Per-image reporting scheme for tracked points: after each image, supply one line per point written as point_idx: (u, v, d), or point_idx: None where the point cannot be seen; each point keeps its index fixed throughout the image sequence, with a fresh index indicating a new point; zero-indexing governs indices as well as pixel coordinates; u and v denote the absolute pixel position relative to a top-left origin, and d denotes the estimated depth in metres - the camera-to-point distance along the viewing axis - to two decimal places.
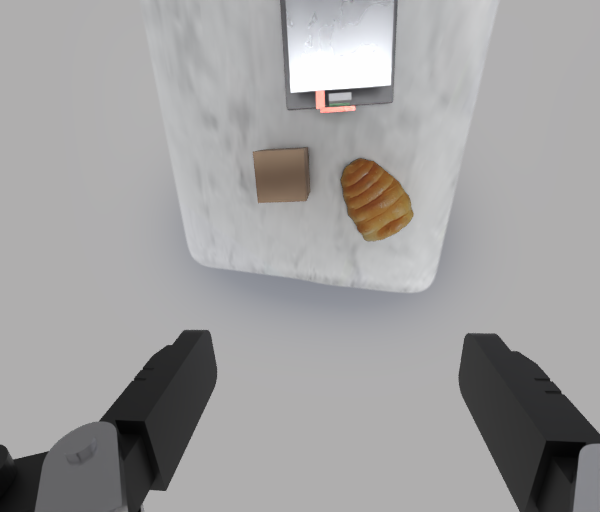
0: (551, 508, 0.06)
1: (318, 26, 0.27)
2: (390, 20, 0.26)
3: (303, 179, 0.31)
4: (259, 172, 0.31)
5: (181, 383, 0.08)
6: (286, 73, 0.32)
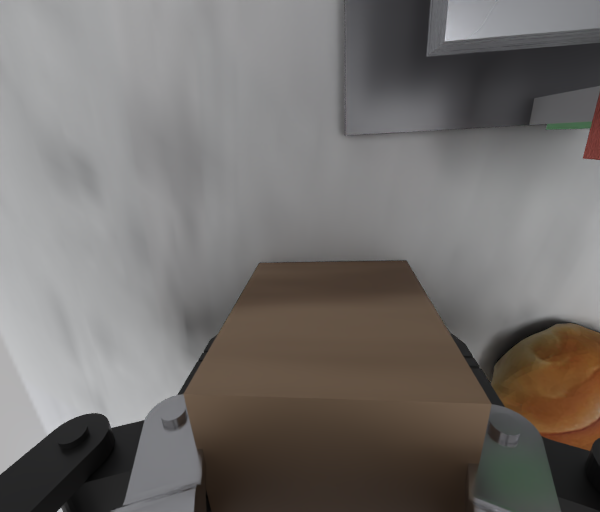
0: None
1: None
2: None
3: None
4: (225, 474, 0.06)
5: None
6: None
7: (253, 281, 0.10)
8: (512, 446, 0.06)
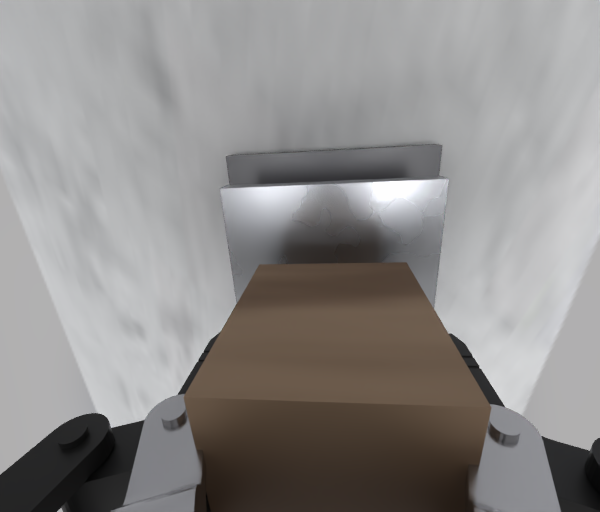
0: None
1: None
2: (431, 278, 0.13)
3: None
4: (225, 477, 0.06)
5: None
6: None
7: (253, 283, 0.10)
8: (512, 446, 0.06)
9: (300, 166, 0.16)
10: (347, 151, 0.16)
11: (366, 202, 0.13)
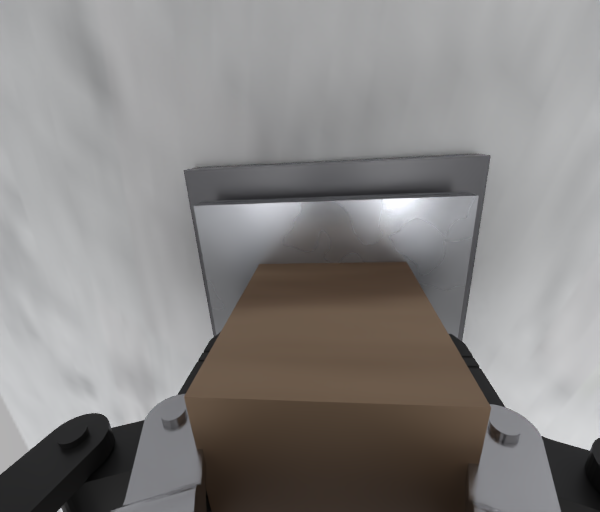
0: None
1: None
2: (453, 315, 0.11)
3: None
4: (225, 476, 0.06)
5: None
6: None
7: (253, 282, 0.10)
8: (512, 446, 0.06)
9: (287, 184, 0.12)
10: (353, 164, 0.11)
11: (374, 223, 0.10)
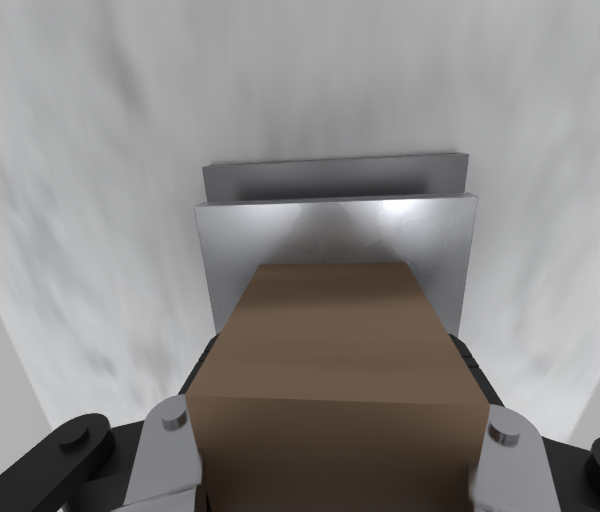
0: None
1: None
2: (453, 316, 0.11)
3: None
4: (225, 476, 0.06)
5: None
6: None
7: (253, 283, 0.10)
8: (512, 446, 0.06)
9: (293, 179, 0.13)
10: (350, 161, 0.13)
11: (374, 224, 0.10)
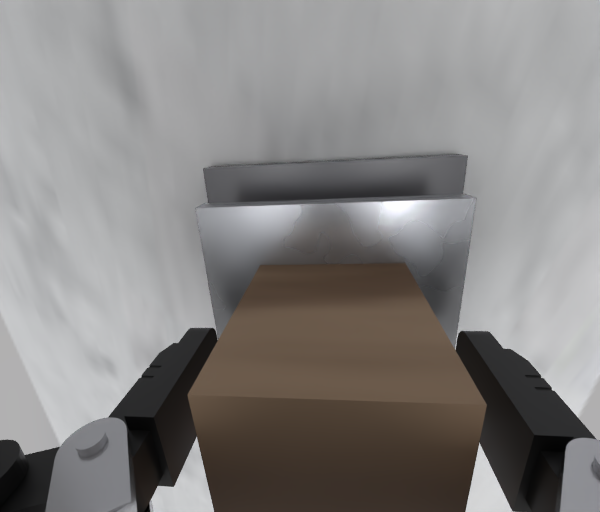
0: (539, 501, 0.06)
1: None
2: (452, 316, 0.11)
3: None
4: (227, 473, 0.06)
5: (188, 380, 0.08)
6: None
7: (254, 283, 0.10)
8: None
9: (293, 181, 0.14)
10: (350, 163, 0.13)
11: (373, 225, 0.10)
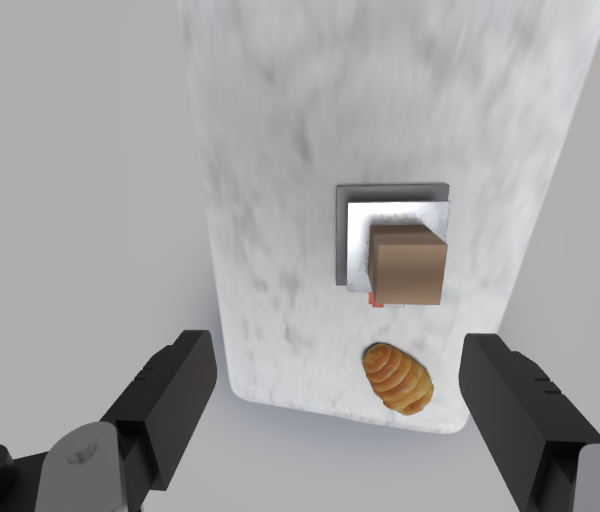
0: (551, 508, 0.06)
1: None
2: None
3: (440, 280, 0.24)
4: (383, 269, 0.24)
5: (182, 383, 0.08)
6: (338, 257, 0.35)
7: (373, 229, 0.28)
8: None
9: (376, 193, 0.32)
10: (401, 186, 0.31)
11: (414, 210, 0.28)
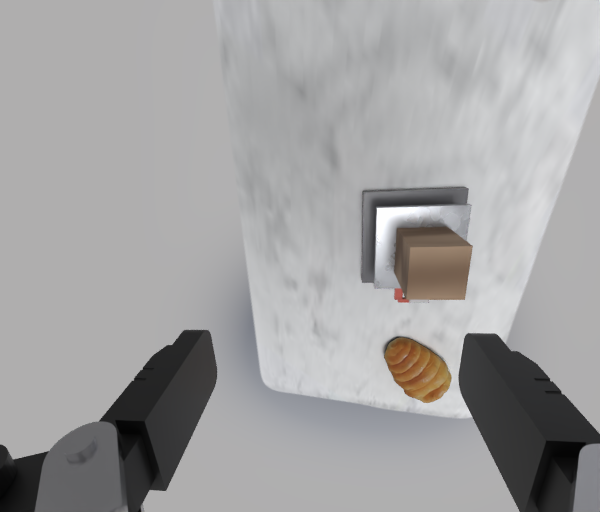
0: (551, 508, 0.06)
1: None
2: None
3: (465, 277, 0.27)
4: (414, 268, 0.27)
5: (182, 383, 0.08)
6: (364, 257, 0.37)
7: (401, 232, 0.31)
8: None
9: (400, 197, 0.34)
10: (423, 191, 0.34)
11: (437, 214, 0.31)
